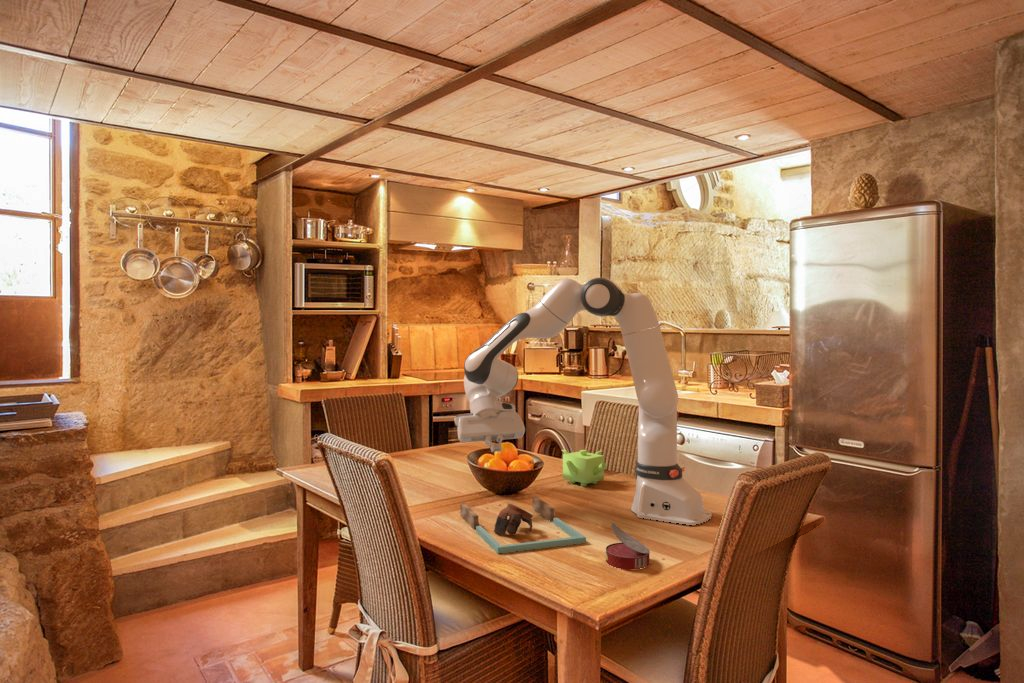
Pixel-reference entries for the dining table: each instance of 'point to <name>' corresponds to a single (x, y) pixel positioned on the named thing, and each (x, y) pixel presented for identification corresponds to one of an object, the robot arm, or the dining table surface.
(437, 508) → the dining table surface
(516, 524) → the dark brown curved piece
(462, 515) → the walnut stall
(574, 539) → the teal frame
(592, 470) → the green knobbed block
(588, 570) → the dining table surface
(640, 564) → the canned food
